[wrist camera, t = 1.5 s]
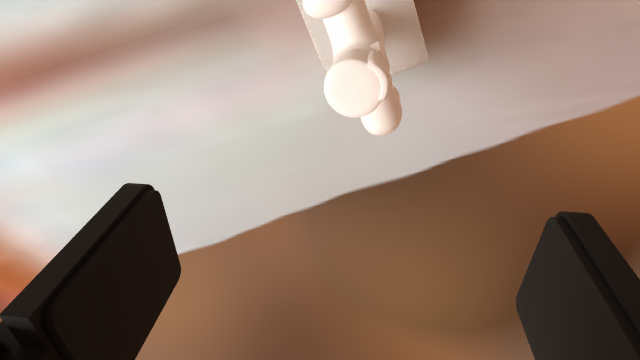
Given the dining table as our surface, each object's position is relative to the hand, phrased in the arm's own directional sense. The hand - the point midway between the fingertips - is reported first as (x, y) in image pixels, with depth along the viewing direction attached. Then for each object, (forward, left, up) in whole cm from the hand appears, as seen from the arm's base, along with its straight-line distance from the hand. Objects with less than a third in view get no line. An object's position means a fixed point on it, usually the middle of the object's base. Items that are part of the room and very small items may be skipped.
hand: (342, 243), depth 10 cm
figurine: (0, 0, -25) cm, 25 cm away
